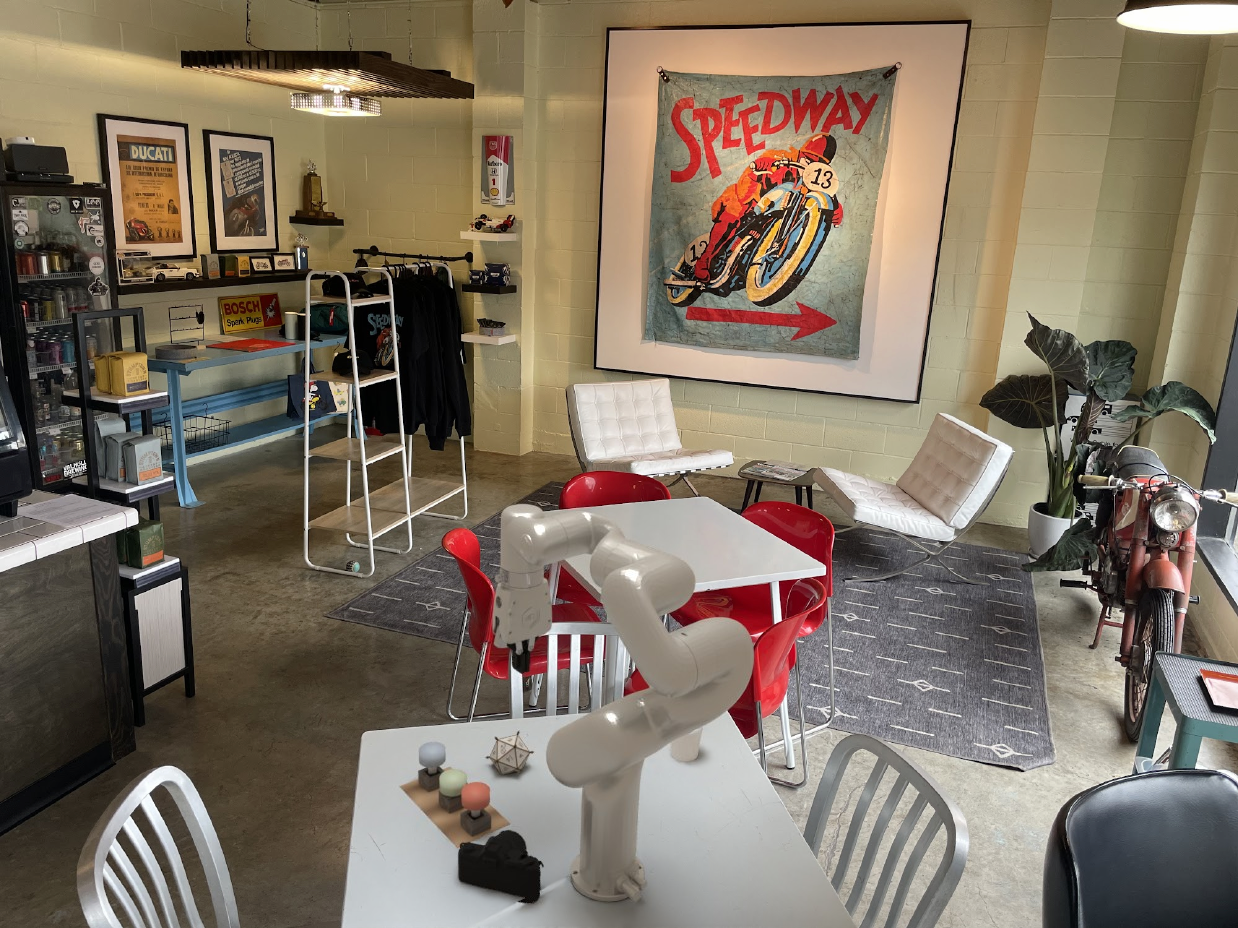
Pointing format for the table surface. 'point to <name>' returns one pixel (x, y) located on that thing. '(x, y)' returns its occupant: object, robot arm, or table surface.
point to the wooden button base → (451, 810)
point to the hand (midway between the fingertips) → (520, 669)
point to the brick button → (475, 797)
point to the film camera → (501, 866)
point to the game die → (509, 754)
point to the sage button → (452, 782)
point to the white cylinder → (686, 746)
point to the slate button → (432, 756)
